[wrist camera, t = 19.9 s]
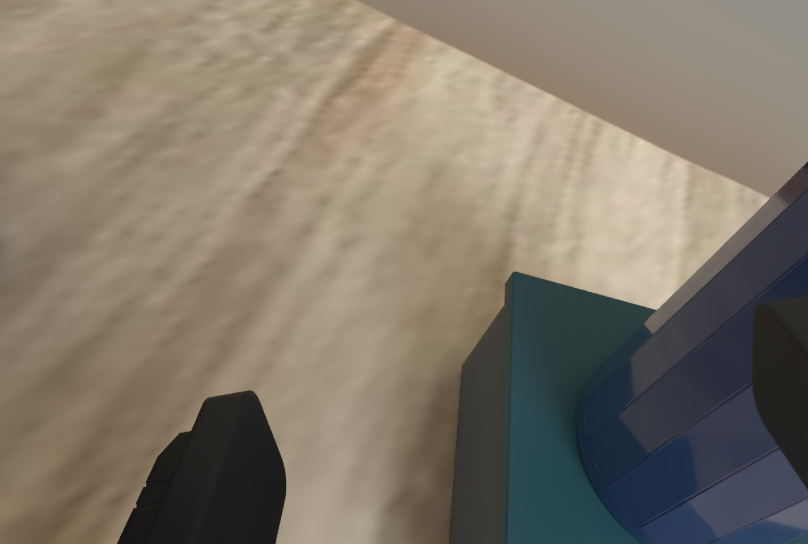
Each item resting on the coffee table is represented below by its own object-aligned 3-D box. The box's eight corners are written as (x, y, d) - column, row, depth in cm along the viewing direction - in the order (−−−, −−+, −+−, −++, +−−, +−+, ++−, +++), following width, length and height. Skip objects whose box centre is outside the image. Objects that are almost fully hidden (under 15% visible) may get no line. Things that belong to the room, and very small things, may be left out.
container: (431, 648, 22) (504, 607, 17) (455, 356, 28) (513, 269, 24) (737, 707, 23) (881, 683, 19) (692, 416, 30) (790, 345, 25)
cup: (579, 542, 19) (874, 360, 11) (572, 334, 23) (784, 96, 15) (798, 592, 20) (1214, 455, 12) (754, 384, 24) (1042, 182, 16)
